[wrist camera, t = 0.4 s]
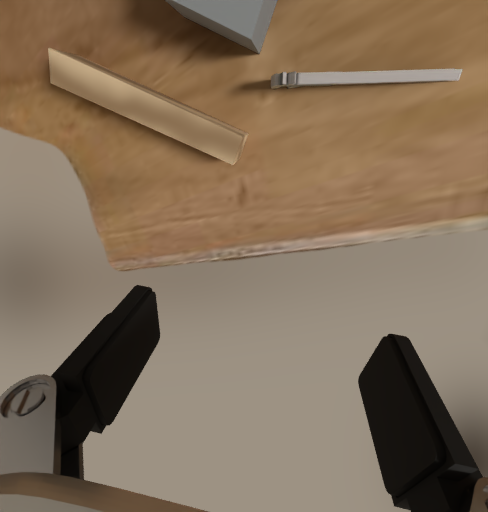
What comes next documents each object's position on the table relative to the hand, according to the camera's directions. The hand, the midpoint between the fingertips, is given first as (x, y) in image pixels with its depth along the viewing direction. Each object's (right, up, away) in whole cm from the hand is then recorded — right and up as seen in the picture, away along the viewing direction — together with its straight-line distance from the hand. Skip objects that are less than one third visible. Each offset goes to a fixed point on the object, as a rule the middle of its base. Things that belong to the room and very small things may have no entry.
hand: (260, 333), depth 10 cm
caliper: (+13, +24, +18) cm, 33 cm away
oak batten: (-12, +23, +23) cm, 35 cm away
